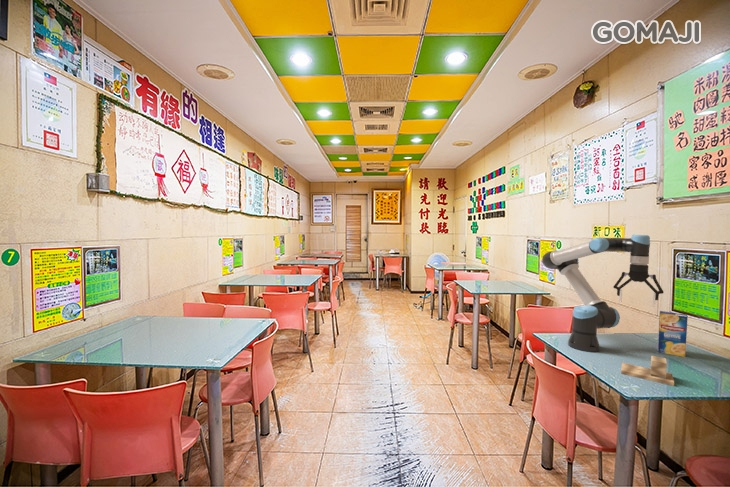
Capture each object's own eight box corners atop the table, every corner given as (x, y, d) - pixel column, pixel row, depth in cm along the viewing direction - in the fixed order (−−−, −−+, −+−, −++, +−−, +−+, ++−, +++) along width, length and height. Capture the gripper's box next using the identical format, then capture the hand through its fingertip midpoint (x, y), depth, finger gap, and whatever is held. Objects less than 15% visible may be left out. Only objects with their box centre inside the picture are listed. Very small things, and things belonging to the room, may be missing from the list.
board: (621, 373, 152) (621, 370, 151) (622, 365, 161) (622, 362, 161) (674, 386, 140) (674, 382, 140) (671, 376, 149) (672, 373, 149)
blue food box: (685, 357, 174) (687, 316, 173) (657, 351, 181) (660, 312, 180) (684, 353, 179) (686, 314, 178) (657, 348, 186) (659, 310, 185)
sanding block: (650, 375, 146) (651, 360, 146) (650, 370, 152) (651, 355, 152) (665, 379, 143) (666, 363, 143) (665, 373, 149) (665, 358, 149)
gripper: (608, 262, 176) (606, 301, 177) (671, 267, 159) (669, 309, 160) (610, 261, 181) (608, 299, 182) (671, 265, 165) (668, 307, 166)
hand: (636, 304), depth 171 cm, fingers open, 13 cm apart
